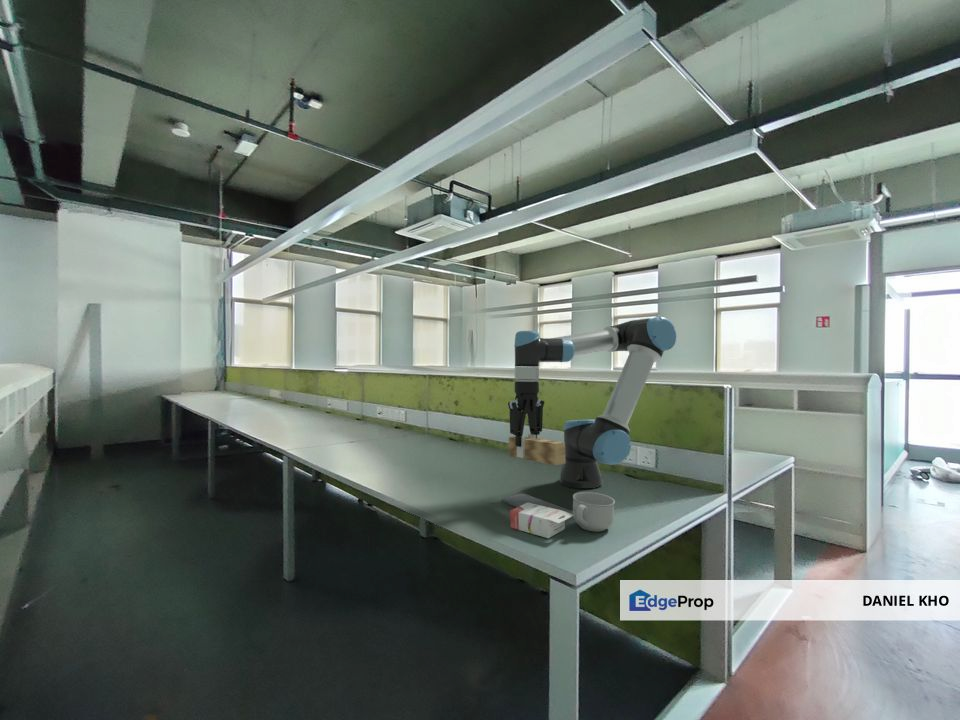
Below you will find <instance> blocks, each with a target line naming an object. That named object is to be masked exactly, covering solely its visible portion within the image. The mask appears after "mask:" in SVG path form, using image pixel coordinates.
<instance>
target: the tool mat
mask: <svg viewBox="0 0 960 720" xmlns="http://www.w3.org/2000/svg"><path fill="white" fill-rule="evenodd" d="M501 502H504V503H505V504H508V505H511V506H514V508H517V507H519V506H521V505H523V504H525V503H532V504H536V505H541V506H545V507H549V508H553V509H558V510H562V511H565V512H568V513H571V514H573V510H571V509H568V508H565V507H562V506H559V505H556V504H555V503H550V502H548V501H545V500H543V499H540V498H538V497H535V496H532V495H529V494H526V493H518V494H515V495H511V496H506V497H502V498H501ZM564 517H565V516H564Z"/></svg>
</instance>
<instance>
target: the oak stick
mask: <svg viewBox="0 0 960 720" xmlns="http://www.w3.org/2000/svg"><path fill="white" fill-rule="evenodd" d="M508 456H509V457H510V458H511V457H512V458H517V459H521V460H522V459H523V460H526V461H533V462H536V463H537V462H538V463H543V464H546V465H547V464H548V465H553V466H560V465H563V464H565V463H566V462H565V442H564V441H558V440H551V439H543V438H538V437H537V438H529V437H528V436H525V458H521V457H517V446H516V436H515V435H514V436H508Z"/></svg>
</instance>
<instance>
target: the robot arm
mask: <svg viewBox="0 0 960 720" xmlns="http://www.w3.org/2000/svg"><path fill="white" fill-rule="evenodd" d="M676 342H677V332H676V328H675V326H674V324H673V323H672V322H671V320H669V319H668V318H666V317H663V316H652V317H649V318H642V319H641V318H640V319H634V320H633V319H632V320H628V321H625V322H622V323H619V324H615V325H610V326H606V327H604V328H603V329H602V330H597V331H596V330H595V331H590V332H588V331H587V332H583V333H576V334H568V335H563V336H558V337H549V338H544V337H540V332H539V331H538V330H520V331H517V332H516V333H515V336H514V346H513V347H514V379H515V380H516V381H514V393H515V398H514V400H512V401H508V403H507V405H508V409H509V433H510V434H511V435H513V436H514V437H515V436H516V446H517V457H521V458H525V437H526V436H524V435H523V434H524V427H525V422H526V415H527V419H528V426H529V428H528V429H529V433H528V434H527V437H529V438H537V439H538V436H539V435H540V434H541V433H542V431H543V417H544V416H543V415H544V414H543V413H544V406H545V400H540V399H539V397H538V394H539V392H540V383H539V381H538V380H539V379H540V363H568V362H570V361H571V360H573V358H574V356H580V355H585V354H592V353H597V352H598V353H599V352H604V351H607V352H609V353H612V352H628V353H629V354H628V356H627V358H626V360H625V363H624V364H623V365H624V366H623V368H622V369H621V372H620V375H619V377H618V379H617V381H616V383H615V386H614V388H613V390H612V393H611V395H610V397H609V399H608V401H607V404H606V407H605V408H604V411H603V413H602V414H600V415H597V416H596V418H595V419H571V420H566V421H565V422H564V426H563V435H564V436H563V438H564V440H563V442H565V462H566V463H565V464H562V467H561V470H560V471H561V472H560V474H559V484H561V485H562V484H563V486H564V485H565V487H567V486H569V487H568V488H571V487H573V489H578V488H593V489H597V488H596V487H598V488H600V487H599V486H601V485H602V486H603V477H602V475H601V471H600V468H599V464H598V462H599V463H600V464H602V465H603V464H605V465H610V466H613V465H614V466H615V465H618V464H620V463H623V462H624V461H625V460H626V459H627V458H628V457H629V455H630V452H631V449H632V443H631V442H632V441H631V440H632V439H631V438H630V436H629V435H630V433H631V429H630V428H629V425H628V424H629V422H630V420H631V418H632V415H633V413H634V411H635V408H636V405H637V403H638V401H639V398H640V396H641V394H642V393H643V392H642V391H643V389H644V387H645V385H646V382H647V380H648V377H649V375H650V373H651V370H652V368H653V365H654V364H655V363H657V362H659V361H660V360H661V358H662V356H663V355H664V352H665V351H669V350H671V349H673V347H674V346H675V345H676ZM521 458H520V459H521ZM602 486H601V487H602Z"/></svg>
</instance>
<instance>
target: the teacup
mask: <svg viewBox="0 0 960 720" xmlns="http://www.w3.org/2000/svg"><path fill="white" fill-rule="evenodd" d="M615 504H616V500H615V499H614V498H612V497H611V496H609V495H606V494H603V493H601V492H593V491H579V492H575V493H573V494H572V511H573V515H574V516H572V517H573V520H574V522H576V524H577V525H579V527H580V528H581V529H583V530H586V531H589V532H597V533H598V532H599V533H600V532H603V531H606V529H608V528H610V527H611V525H612V524H613V521H614V516H615V515H614V514H615Z"/></svg>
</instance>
